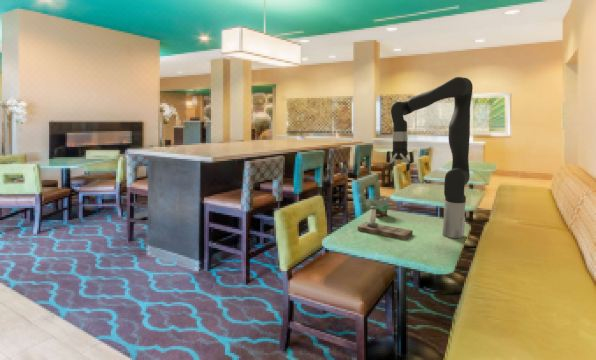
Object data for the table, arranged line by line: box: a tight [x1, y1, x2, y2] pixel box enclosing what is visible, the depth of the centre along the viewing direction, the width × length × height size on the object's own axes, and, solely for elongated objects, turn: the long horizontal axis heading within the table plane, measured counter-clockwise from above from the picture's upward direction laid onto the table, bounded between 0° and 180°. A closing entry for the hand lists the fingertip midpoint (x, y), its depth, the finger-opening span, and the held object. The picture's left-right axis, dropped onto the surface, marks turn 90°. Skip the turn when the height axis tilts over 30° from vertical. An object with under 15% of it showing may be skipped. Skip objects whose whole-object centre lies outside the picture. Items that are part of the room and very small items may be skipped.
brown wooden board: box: [357, 221, 414, 241], centre depth 190 cm, size 25×10×2 cm, turn 55°
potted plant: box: [373, 196, 390, 218], centre depth 220 cm, size 12×6×10 cm, turn 143°
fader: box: [367, 205, 379, 227], centre depth 192 cm, size 4×4×10 cm
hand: (399, 170), depth 201 cm, fingers open, 8 cm apart
